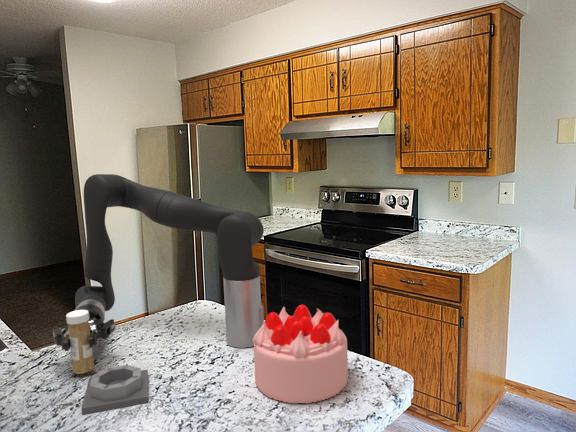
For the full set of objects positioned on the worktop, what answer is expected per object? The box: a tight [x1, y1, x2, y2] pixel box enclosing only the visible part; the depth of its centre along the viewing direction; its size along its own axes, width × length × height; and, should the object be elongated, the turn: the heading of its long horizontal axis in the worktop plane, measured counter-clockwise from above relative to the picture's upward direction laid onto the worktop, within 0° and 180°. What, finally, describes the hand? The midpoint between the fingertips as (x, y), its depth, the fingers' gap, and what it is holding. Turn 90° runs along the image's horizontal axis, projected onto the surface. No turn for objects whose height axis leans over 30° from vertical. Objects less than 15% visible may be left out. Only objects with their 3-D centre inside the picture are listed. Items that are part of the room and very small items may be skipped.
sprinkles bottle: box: [65, 310, 95, 375], centre depth 100 cm, size 5×5×14 cm
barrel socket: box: [80, 364, 149, 415], centre depth 92 cm, size 12×12×4 cm
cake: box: [253, 304, 349, 404], centre depth 95 cm, size 20×20×14 cm
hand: (78, 344), depth 98 cm, fingers closed on sprinkles bottle, 4 cm apart
